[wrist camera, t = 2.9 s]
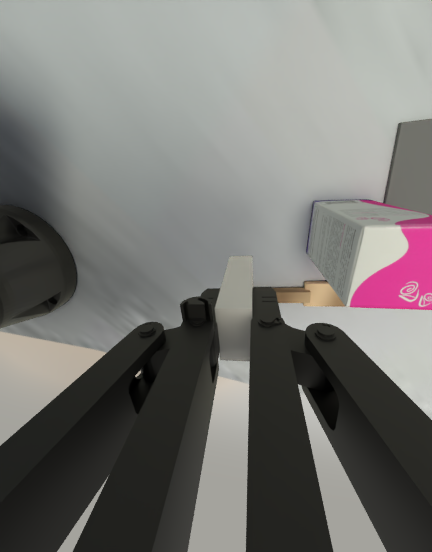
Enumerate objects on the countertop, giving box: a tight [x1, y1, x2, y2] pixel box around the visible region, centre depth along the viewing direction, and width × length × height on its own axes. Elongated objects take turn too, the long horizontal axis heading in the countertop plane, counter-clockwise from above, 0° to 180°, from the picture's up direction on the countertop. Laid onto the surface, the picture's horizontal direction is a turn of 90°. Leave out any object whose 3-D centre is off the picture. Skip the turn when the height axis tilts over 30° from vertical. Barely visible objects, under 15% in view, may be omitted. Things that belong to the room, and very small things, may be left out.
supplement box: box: [306, 200, 432, 310], centre depth 19 cm, size 6×6×12 cm
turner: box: [273, 281, 345, 306], centre depth 27 cm, size 16×3×1 cm, turn 95°
